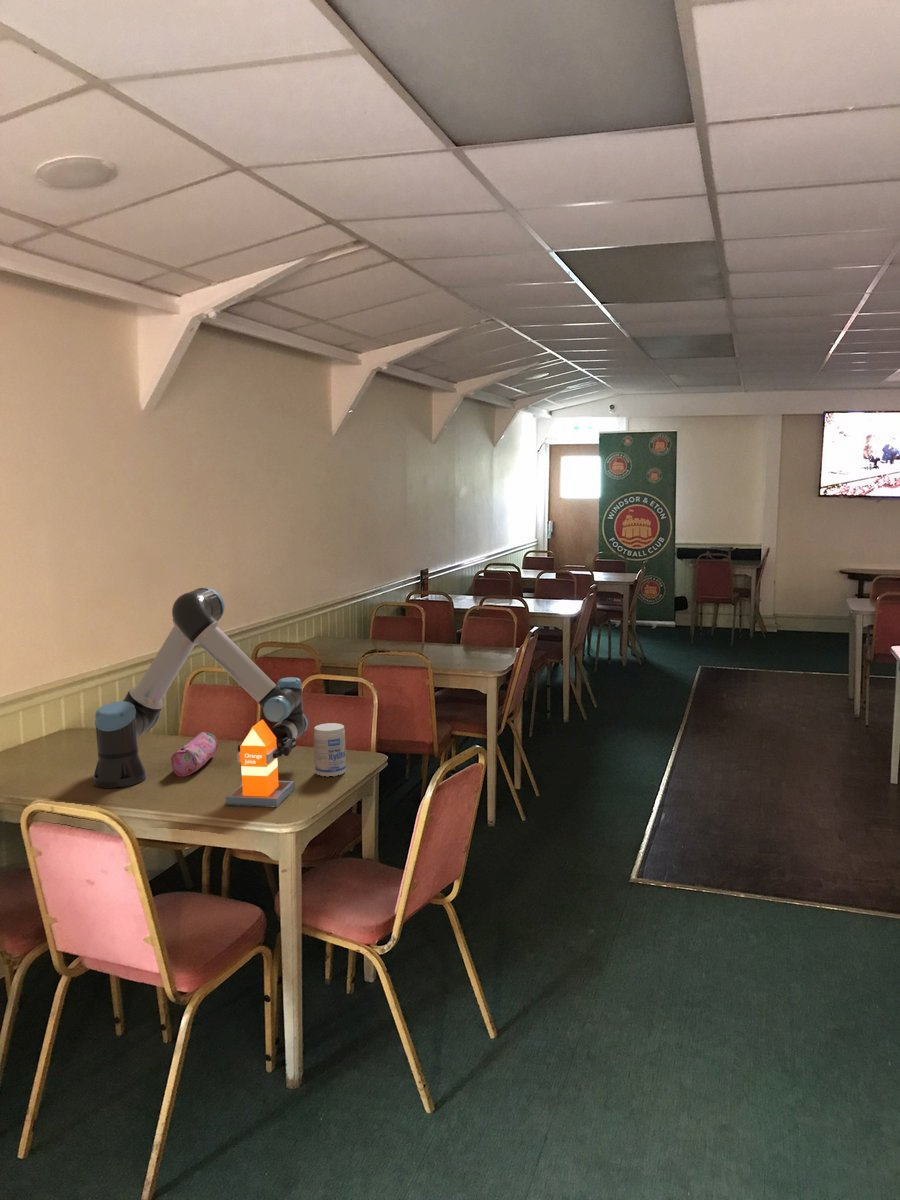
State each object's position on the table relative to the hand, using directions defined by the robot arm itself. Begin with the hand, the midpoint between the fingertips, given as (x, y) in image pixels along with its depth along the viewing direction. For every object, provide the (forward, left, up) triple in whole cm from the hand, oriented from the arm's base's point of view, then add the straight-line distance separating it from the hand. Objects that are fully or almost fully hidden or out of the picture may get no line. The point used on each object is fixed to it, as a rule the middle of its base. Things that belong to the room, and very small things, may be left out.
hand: (252, 758), depth 259 cm
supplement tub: (+13, +28, -13) cm, 34 cm away
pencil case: (-32, +30, -13) cm, 46 cm away
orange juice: (0, +5, -11) cm, 12 cm away
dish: (0, +5, -13) cm, 14 cm away
